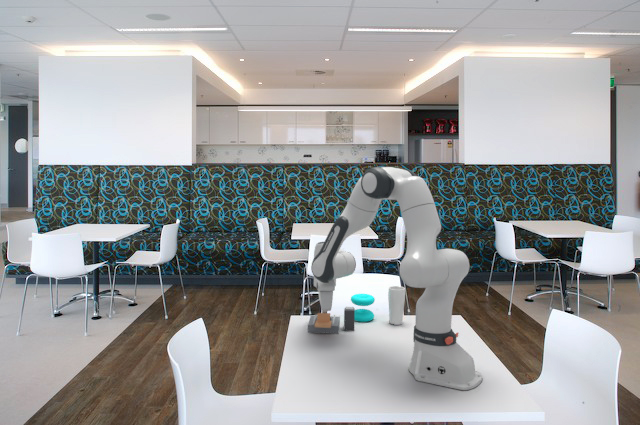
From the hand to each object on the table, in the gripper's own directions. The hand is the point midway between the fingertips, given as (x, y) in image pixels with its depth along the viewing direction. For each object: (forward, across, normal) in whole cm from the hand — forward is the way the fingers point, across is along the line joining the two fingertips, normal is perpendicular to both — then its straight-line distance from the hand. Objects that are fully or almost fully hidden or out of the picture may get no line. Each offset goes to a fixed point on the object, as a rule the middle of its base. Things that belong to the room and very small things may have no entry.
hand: (324, 315), depth 198 cm
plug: (+5, 0, +10) cm, 11 cm away
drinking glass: (+6, -6, +30) cm, 31 cm away
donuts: (+6, -12, +17) cm, 22 cm away
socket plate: (+5, -1, 0) cm, 5 cm away
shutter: (+2, +5, -1) cm, 5 cm away
